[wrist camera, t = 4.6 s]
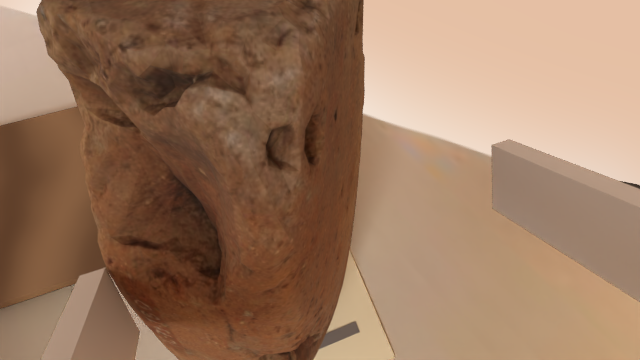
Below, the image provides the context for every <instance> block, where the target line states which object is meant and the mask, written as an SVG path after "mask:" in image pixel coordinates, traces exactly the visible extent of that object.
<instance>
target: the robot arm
mask: <svg viewBox="0 0 640 360" xmlns="http://www.w3.org/2000/svg"><path fill="white" fill-rule="evenodd" d="M492 209H494V210H496V211H497V212H499V213H500V214H502V215H503V216H505V217H507V218H508V219H510V220H511V221H513V222H514V223H516V224H518V225H519V226H521V227H522V228H524V229H525V230H527V231H529V232H530V233H532V234H533V235H535V236H537V237H538V238H540V239H541V240H543V241H544V242H546V243H548V244H549V245H551V246H552V247H554V248H555V249H557V250H559V251H560V252H562V253H563V254H565V255H566V256H568V257H570V258H571V259H573V260H574V261H576V262H577V263H579V264H581V265H582V266H584V267H585V268H587V269H588V270H590V271H592V272H593V273H595V274H596V275H598V276H599V277H601V278H603V279H604V280H606V281H607V282H609V283H610V284H612V285H614V286H615V287H617V288H618V289H620V290H622V291H623V292H625V293H626V294H628V295H629V296H631V297H633V298H634V299H636V300H637V301H639V302H640V186H639V185H637V184H632V183H627V182H622V181H617V180H615V179H612V178H609V177H606V176H604V175H601V174H599V173H596V172H594V171H591V170H588V169H585V168H583V167H580V166H578V165H575V164H572V163H570V162H567V161H565V160H562V159H559V158H557V157H554V156H551V155H549V154H546V153H543V152H541V151H538V150H536V149H533V148H530V147H528V146H525V145H522V144H520V143H517V142H515V141H512V140H506V141H503V142H500V143H497V144H494V145H492ZM139 333H140V332H139V330H138V328H137V326H136V324H135V322H134V320H133V318H132V317H131V315H130V313H129V311H128V309H127V307H126V305H125V303H124V302H123V300H122V298H121V296H120V294H119V292H118V290H117V288H116V287H115V285H114V283H113V281H112V279H111V277H110V275H109V273H108V272H107V270H106V268H102V269H99V270H96V271H93V272H90V273H87V274H83V275H80V276H79V278H78V280H77V282H76V284H75V286H74V289H73V291H72V293H71V295H70V297H69V299H68V301H67V304H66V306H65V308H64V310H63V312H62V314H61V317H60V319H59V321H58V323H57V325H56V327H55V329H54V332H53V334H52V336H51V338H50V340H49V342H48V344H47V347H46V349H45V351H44V353H43V355H42V357H41V359H40V360H135V355H136V349H137V344H138V338H139Z"/></svg>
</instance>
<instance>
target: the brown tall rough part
mask: <svg viewBox="0 0 640 360" xmlns="http://www.w3.org/2000/svg"><path fill="white" fill-rule="evenodd" d="M37 17H38V22H39V27H40V31H41V33H42V35H43V37H44V39H45V43H46V47H47V51H48V55H49V56H50V57H51V58H52V59H53V60H54V61H55V62H56V63H57V64H58V67H59V69H60V70H61V71H62V73H63V74H64V75H65V76H66V77H67V79H68V80H69V82H70V85H71V88H72V91H73V94H74V97H75V100H76V103H77V105H78V108H79V111H80V113H81V116H82V119H83V121H84V124H85V126H84V130H83V134H82V138H81V142H80V145H79V151H80V157H81V160H82V162H83V164H84V167H85V169H86V171H85V183H86V187H87V190H88V193H89V197H90V200H91V210H92V213H93V216H94V219H95V222H96V225H97V228H98V244H99V247H100V251H101V254H102V257H103V260H104V262H105V264H106V267H107V269H108V271H109V273H110V275H111V277H112V278H113V280H114V282H115V283H116V285H117V286H118V288H119V290H120V292H121V293H122V295H123V296H124V298H125V299H126V300H127V302H128V303H129V305H130V306H131V307H132V308H133V310H134V311H135V312H136V313H137V315H138V316H139V317H140V318H141V319H142V320H143V322H144V323H145V324H146V325H147V326H148V327H149V328H150V329H151V330H152V331H153V332H154V334H155V335H156V336H157V338H158V339H159V340H160V341H161V342H162V343H163V344H164V345H165V346H166V348H167V349H169V350H170V351H171V352H172V353H173V354H174V355H175V356H176V357H177V358H178V359H179V360H314V358H315V356H316V354H317V352H318V350H319V348H320V346H321V344H322V342H323V340H324V337H325V335H326V332H327V330H328V328H329V326H330V323H331V321H332V318H333V315H334V312H335V309H336V306H337V303H338V299H339V296H340V292H341V289H342V286H343V281H344V276H345V272H346V267H347V261H348V256H349V250H350V243H351V236H352V228H353V221H354V212H355V204H356V196H357V185H358V172H359V163H360V150H361V136H362V111H363V105H364V60H365V59H364V54H363V51H362V50H363V48H362V47H363V45H362V44H363V43H362V35H363V0H42V1H41V3H40V4H39V7H38V9H37Z"/></svg>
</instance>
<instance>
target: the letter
mask: <svg viewBox="0 0 640 360" xmlns="http://www.w3.org/2000/svg"><path fill="white" fill-rule="evenodd" d="M394 357H395V356H394V353H393V351H392V349H391V346H390V344H389V342H388V339H387V337H386V335H385V332H384V330H383V327H382V325H381V323H380V320H379V318H378V316H377V313H376V311H375V308H374V306H373V304H372V301H371V299H370V297H369V294H368V292H367V290H366V287H365V285H364V282H363V280H362V278H361V275H360V273H359V271H358V268H357V266H356V264H355V261H354V259H353V256H352V254H351V252H350V250H349V256H348V261H347V267H346V272H345V276H344V281H343V286H342V289H341V292H340V296H339V299H338V303H337V306H336V309H335V312H334V315H333V318H332V321H331V323H330V326H329V328H328V330H327V332H326V335H325V337H324V340H323V342H322V344H321V346H320V348H319V350H318V352H317V354H316V356H315V358H314V360H390V359H392V358H394Z"/></svg>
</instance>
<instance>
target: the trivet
mask: <svg viewBox="0 0 640 360" xmlns="http://www.w3.org/2000/svg"><path fill="white" fill-rule="evenodd" d="M84 126H85V124H84V121H83V119H82V116H81V113H80V111H79V108H78V107H74V108H70V109H66V110H62V111H58V112H54V113H50V114H46V115H42V116H38V117H34V118H30V119H26V120H22V121H18V122H14V123H10V124H6V125H2V126H0V309H1V308H4V307H7V306H10V305H13V304H16V303H19V302H22V301H25V300H28V299H31V298H34V297H37V296H40V295H43V294H46V293H49V292H52V291H54V290H57V289H60V288H63V287H66V286H69V285H72V284H75V283H76V282H77V280H78V278H79V276H80V275H83V274H87V273H90V272H93V271H96V270H99V269H102V268H106V270H107V272H109V271H108V269H107V267H106V264H105V262H104V260H103V257H102V254H101V251H100V247H99V244H98V228H97V225H96V222H95V219H94V216H93V213H92V210H91V200H90V197H89V193H88V190H87V187H86V183H85V171H86V169H85V167H84V164H83V162H82V160H81V157H80V151H79V145H80V142H81V138H82V134H83V130H84Z"/></svg>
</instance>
